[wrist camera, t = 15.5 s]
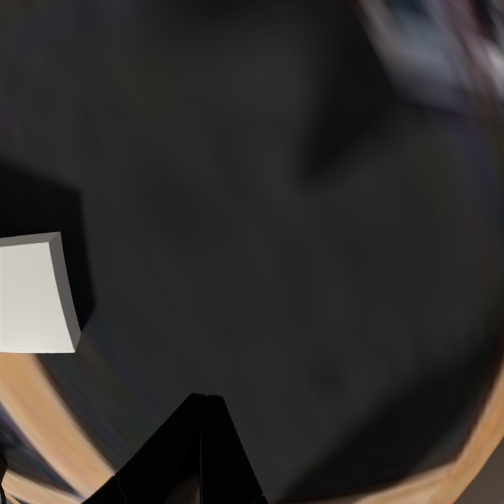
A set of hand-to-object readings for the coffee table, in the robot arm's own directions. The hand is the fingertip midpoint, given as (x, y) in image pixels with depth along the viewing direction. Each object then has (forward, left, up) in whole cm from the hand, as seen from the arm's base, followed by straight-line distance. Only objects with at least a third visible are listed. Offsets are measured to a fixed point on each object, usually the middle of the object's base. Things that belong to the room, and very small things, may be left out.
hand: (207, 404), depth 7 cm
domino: (+7, -1, -4) cm, 8 cm away
